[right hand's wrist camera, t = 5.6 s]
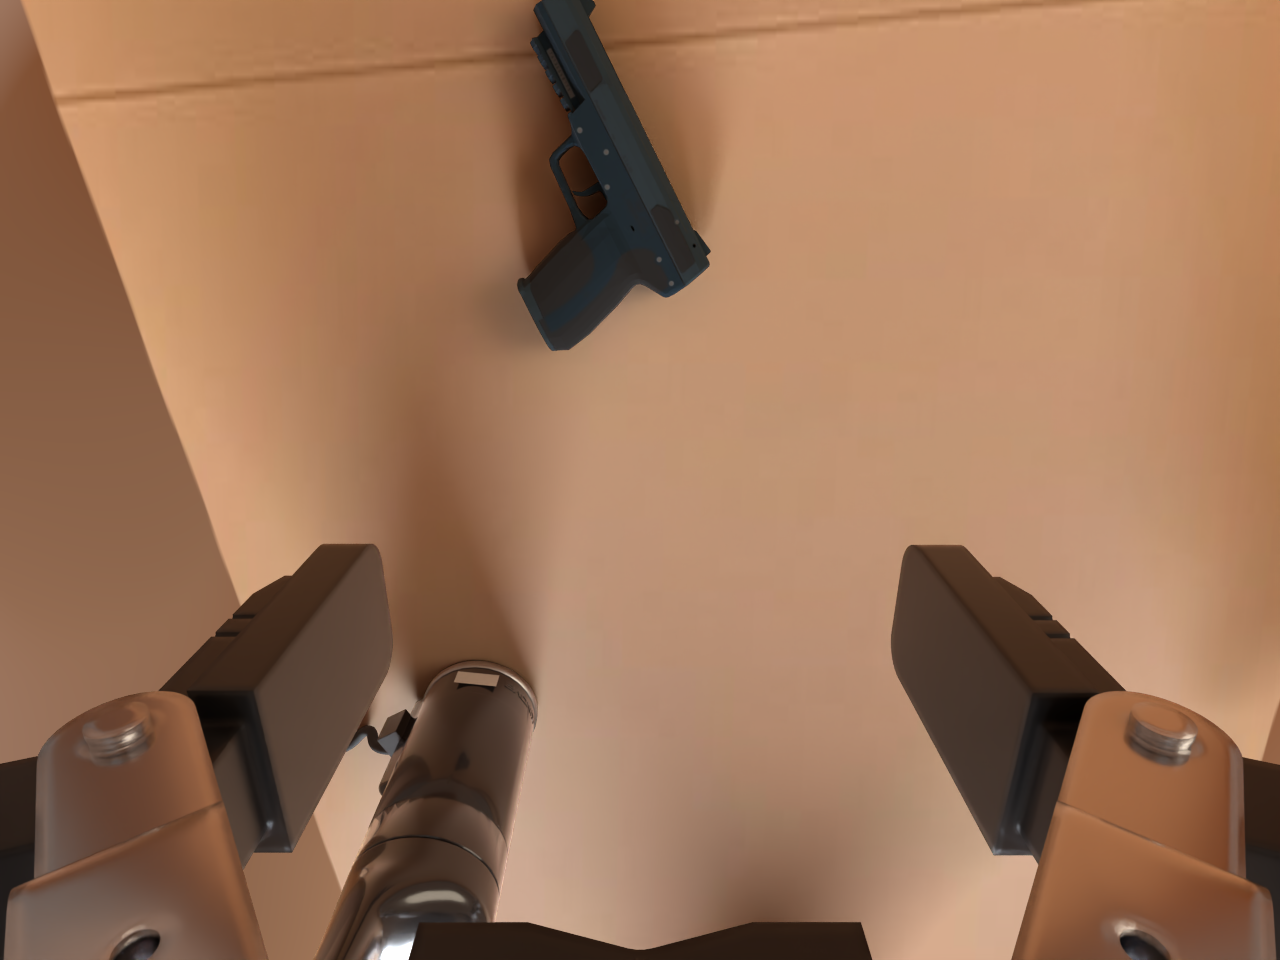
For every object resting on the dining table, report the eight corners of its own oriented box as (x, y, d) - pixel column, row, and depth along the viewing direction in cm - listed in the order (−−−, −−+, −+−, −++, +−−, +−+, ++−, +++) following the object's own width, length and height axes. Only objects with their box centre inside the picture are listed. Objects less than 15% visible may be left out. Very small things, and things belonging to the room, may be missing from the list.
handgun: (414, 100, 44) (585, -11, 42) (561, 352, 49) (719, 265, 47) (397, 91, 41) (581, -29, 39) (555, 361, 46) (724, 268, 44)
